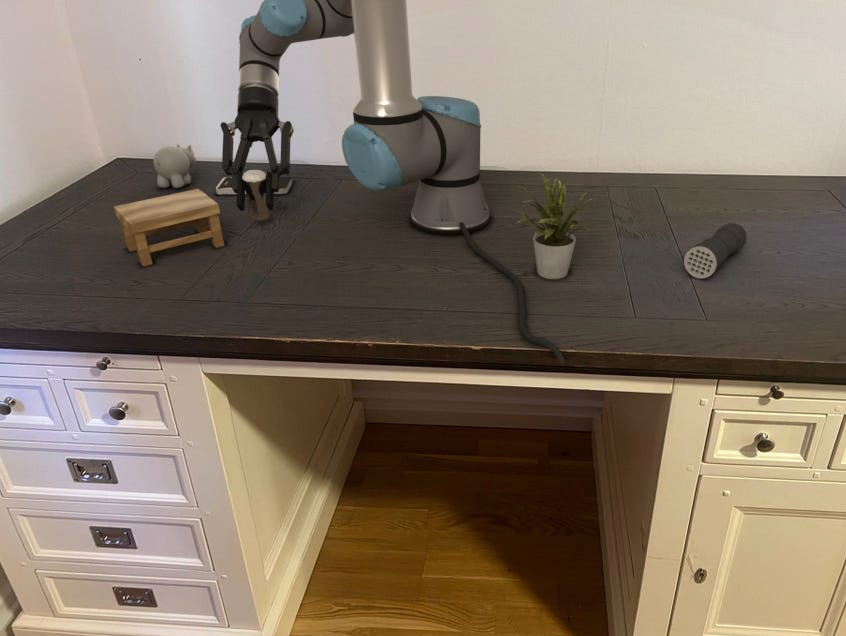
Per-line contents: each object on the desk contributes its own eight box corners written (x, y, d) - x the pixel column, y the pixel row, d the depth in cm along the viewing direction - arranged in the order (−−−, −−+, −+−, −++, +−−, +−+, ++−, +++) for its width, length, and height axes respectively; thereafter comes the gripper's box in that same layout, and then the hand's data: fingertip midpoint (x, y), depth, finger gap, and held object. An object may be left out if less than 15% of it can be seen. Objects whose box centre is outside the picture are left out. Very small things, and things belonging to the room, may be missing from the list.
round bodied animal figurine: (212, 174, 164) (204, 137, 159) (181, 192, 154) (172, 152, 150) (184, 172, 166) (176, 134, 161) (152, 189, 156) (142, 150, 151)
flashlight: (717, 244, 131) (722, 216, 129) (745, 252, 129) (752, 223, 126) (681, 273, 121) (686, 243, 118) (712, 282, 118) (718, 252, 116)
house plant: (493, 259, 126) (494, 167, 117) (564, 247, 130) (570, 158, 121) (526, 294, 115) (529, 196, 106) (602, 280, 119) (612, 185, 110)
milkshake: (270, 223, 136) (262, 171, 131) (244, 220, 137) (236, 169, 132) (280, 214, 140) (274, 164, 135) (255, 212, 141) (247, 161, 135)
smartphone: (286, 188, 153) (214, 188, 152) (286, 194, 153) (215, 195, 153) (292, 176, 159) (223, 177, 158) (292, 182, 160) (224, 183, 159)
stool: (226, 245, 131) (218, 204, 126) (142, 267, 123) (129, 223, 118) (207, 229, 137) (198, 188, 133) (125, 248, 129) (113, 206, 125)
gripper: (308, 105, 143) (306, 214, 138) (218, 107, 142) (213, 216, 137) (300, 83, 135) (298, 197, 130) (205, 85, 135) (199, 199, 130)
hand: (255, 207), depth 134 cm, fingers closed on milkshake, 5 cm apart
